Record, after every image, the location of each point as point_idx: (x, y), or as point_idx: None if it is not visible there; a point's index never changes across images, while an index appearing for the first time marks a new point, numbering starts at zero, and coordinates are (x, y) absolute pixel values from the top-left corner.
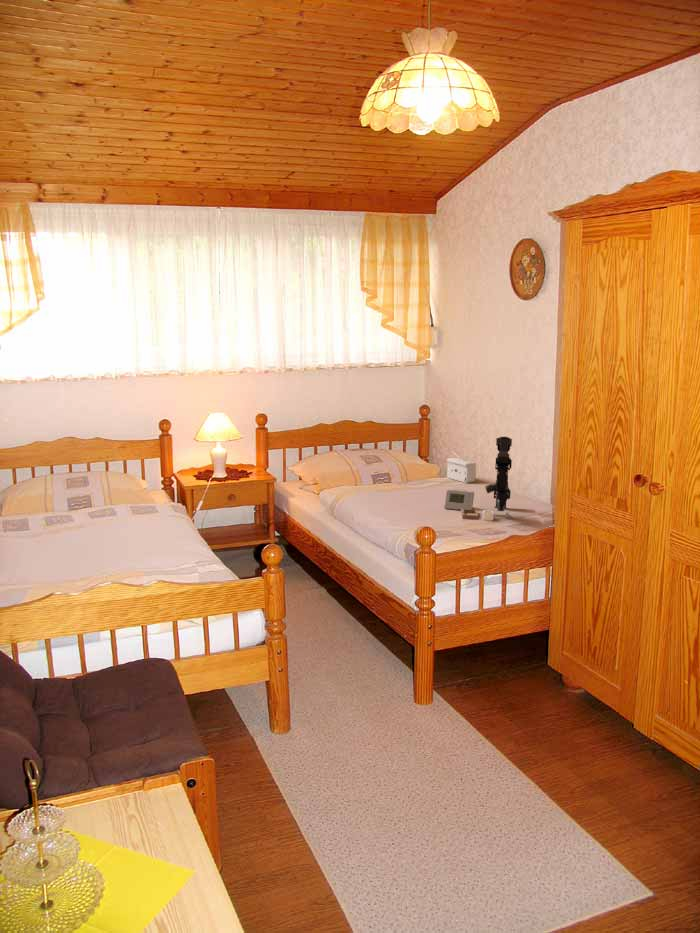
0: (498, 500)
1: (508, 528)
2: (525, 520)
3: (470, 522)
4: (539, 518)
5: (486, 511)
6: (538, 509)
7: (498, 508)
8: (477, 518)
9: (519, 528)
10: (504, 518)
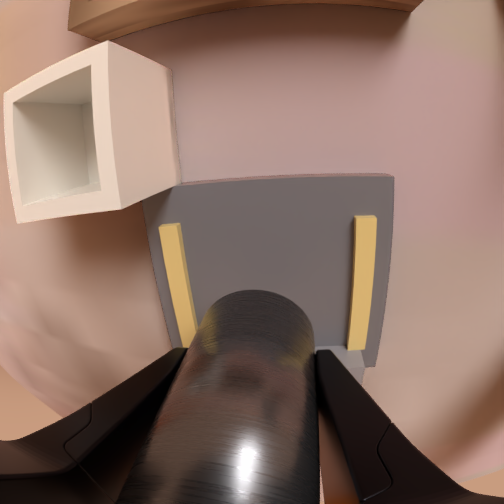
0: (145, 456)
1: (9, 306)
2: None
3: (58, 6)
4: (321, 487)
5: (101, 104)
6: (500, 456)
7: (200, 327)
8: (87, 30)
9: (41, 366)
10: (179, 326)
